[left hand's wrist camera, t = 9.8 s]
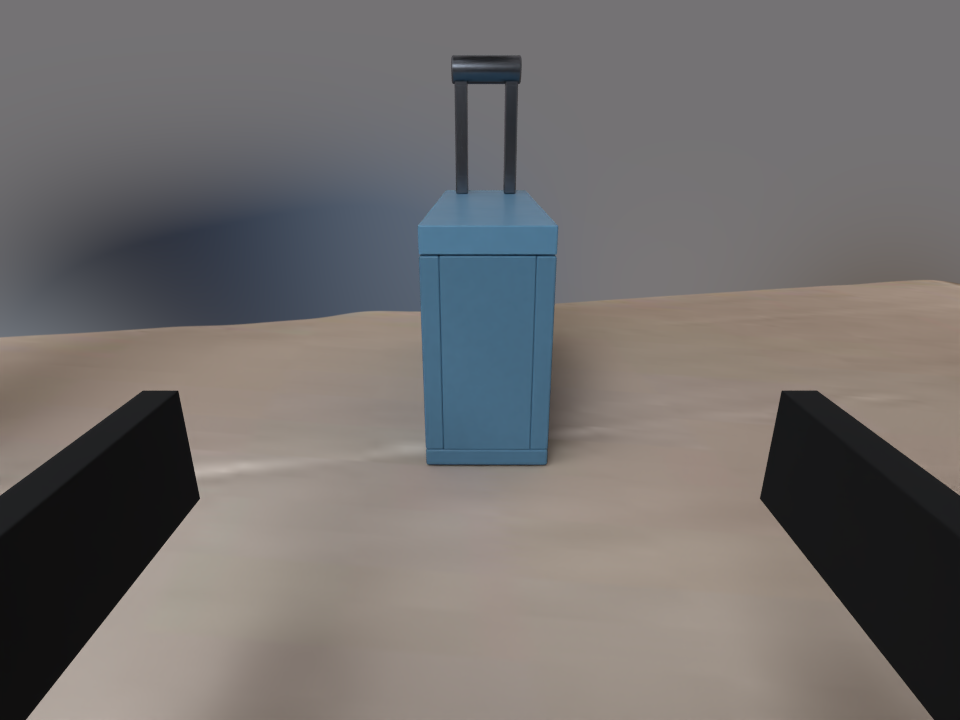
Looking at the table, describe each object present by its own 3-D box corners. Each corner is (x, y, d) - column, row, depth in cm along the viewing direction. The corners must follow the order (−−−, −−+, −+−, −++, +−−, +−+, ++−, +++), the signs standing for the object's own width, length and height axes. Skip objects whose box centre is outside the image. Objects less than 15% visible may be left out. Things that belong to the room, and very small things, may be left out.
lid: (445, 207, 37) (442, 61, 34) (525, 207, 37) (529, 61, 34) (418, 254, 21) (408, -9, 18) (557, 255, 21) (569, -9, 18)
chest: (448, 340, 40) (445, 208, 37) (522, 341, 40) (525, 208, 37) (426, 465, 24) (418, 256, 21) (547, 465, 24) (557, 256, 21)
